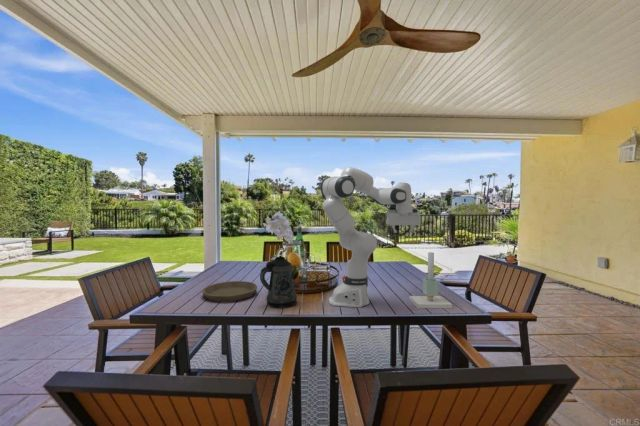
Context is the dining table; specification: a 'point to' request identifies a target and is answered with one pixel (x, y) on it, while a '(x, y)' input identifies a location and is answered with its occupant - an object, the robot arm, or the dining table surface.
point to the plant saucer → (229, 291)
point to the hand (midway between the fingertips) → (403, 232)
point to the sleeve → (430, 287)
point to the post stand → (430, 300)
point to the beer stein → (279, 283)
